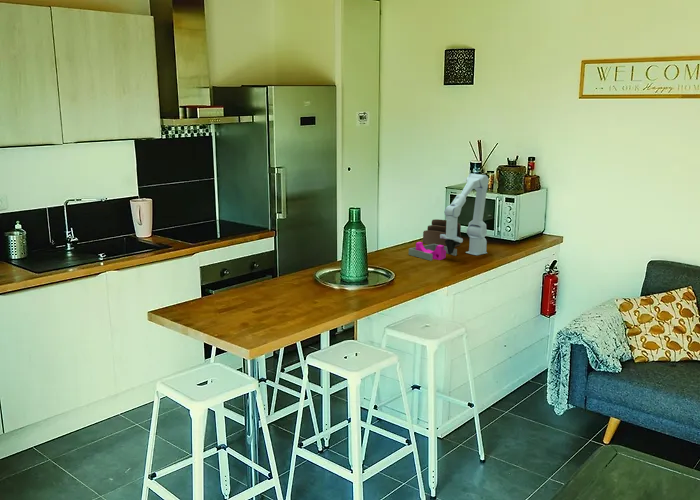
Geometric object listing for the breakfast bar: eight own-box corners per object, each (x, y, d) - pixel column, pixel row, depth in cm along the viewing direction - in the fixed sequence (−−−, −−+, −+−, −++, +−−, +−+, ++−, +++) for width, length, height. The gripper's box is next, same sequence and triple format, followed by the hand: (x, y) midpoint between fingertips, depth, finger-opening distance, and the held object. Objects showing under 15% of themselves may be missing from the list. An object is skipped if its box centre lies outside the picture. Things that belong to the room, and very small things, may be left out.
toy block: (445, 258, 366) (446, 244, 364) (440, 260, 361) (441, 246, 359) (420, 254, 374) (421, 240, 373) (415, 256, 369) (415, 242, 367)
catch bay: (434, 249, 384) (434, 243, 383) (456, 255, 371) (457, 249, 371) (408, 254, 372) (408, 248, 371) (431, 260, 359) (431, 254, 358)
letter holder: (431, 241, 408) (432, 217, 404) (460, 245, 395) (461, 222, 392) (422, 243, 400) (423, 220, 397) (451, 248, 388) (452, 224, 385)
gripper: (436, 227, 361) (435, 251, 364) (456, 231, 350) (455, 257, 353) (445, 225, 365) (444, 250, 368) (466, 229, 354) (464, 255, 357)
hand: (450, 253), depth 361 cm, fingers closed
